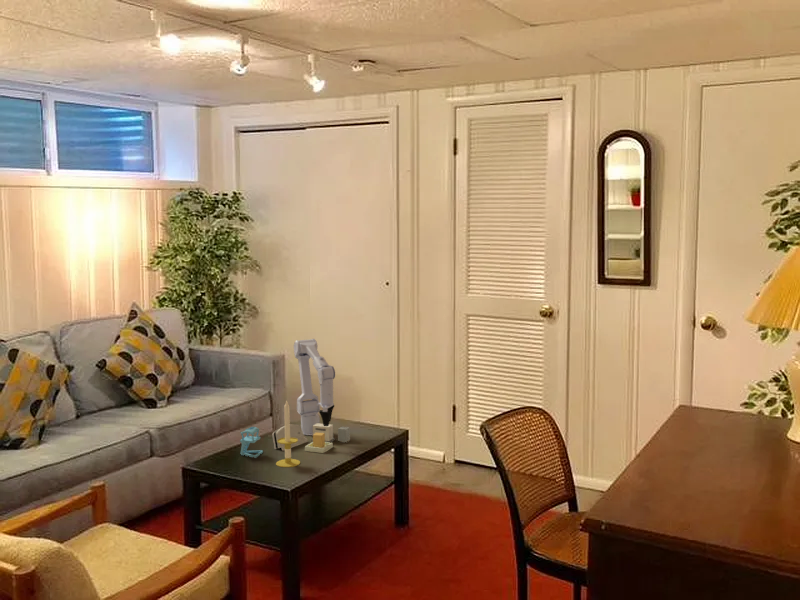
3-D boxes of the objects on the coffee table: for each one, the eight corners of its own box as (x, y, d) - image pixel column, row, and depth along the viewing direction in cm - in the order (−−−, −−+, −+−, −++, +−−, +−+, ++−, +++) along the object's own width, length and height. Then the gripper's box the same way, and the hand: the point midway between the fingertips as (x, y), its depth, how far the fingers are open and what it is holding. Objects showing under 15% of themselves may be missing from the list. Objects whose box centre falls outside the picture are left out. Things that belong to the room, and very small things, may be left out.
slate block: (341, 439, 360) (341, 426, 359) (349, 440, 359) (349, 427, 358) (338, 441, 356) (337, 428, 356) (346, 442, 355) (345, 429, 354)
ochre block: (324, 446, 347) (324, 433, 346) (321, 448, 343) (321, 435, 342) (316, 445, 348) (316, 432, 347) (313, 448, 344) (312, 434, 343)
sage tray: (314, 445, 351) (314, 440, 351) (332, 447, 348) (332, 442, 348) (304, 450, 343) (304, 446, 343) (323, 453, 340) (323, 448, 339)
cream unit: (317, 437, 362) (317, 422, 362) (335, 439, 359) (334, 424, 358) (311, 441, 357) (310, 425, 356) (329, 443, 354) (328, 427, 353)
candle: (301, 466, 322) (299, 401, 319) (276, 468, 320) (274, 403, 317) (299, 458, 332) (298, 396, 329) (275, 460, 330) (273, 397, 327)
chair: (245, 451, 343) (244, 424, 342) (263, 452, 341) (262, 425, 340) (237, 456, 336) (236, 429, 334) (255, 457, 334) (254, 430, 332)
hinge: (282, 450, 343) (276, 428, 344) (275, 452, 346) (269, 430, 347) (308, 441, 357) (302, 420, 358) (301, 443, 359) (295, 422, 360)
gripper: (319, 389, 356) (320, 419, 358) (315, 397, 342) (316, 428, 344) (335, 389, 356) (335, 419, 358) (331, 397, 342) (332, 428, 343)
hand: (327, 423), depth 351 cm, fingers open, 7 cm apart
